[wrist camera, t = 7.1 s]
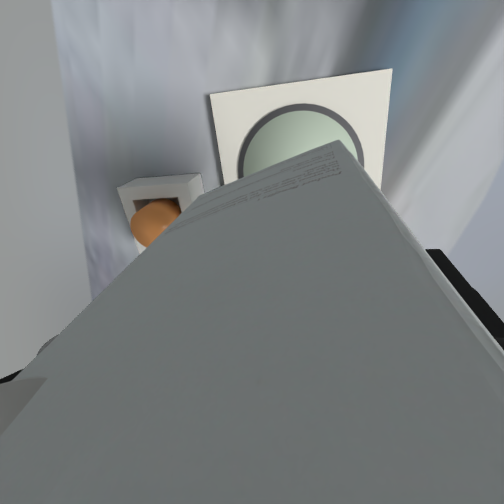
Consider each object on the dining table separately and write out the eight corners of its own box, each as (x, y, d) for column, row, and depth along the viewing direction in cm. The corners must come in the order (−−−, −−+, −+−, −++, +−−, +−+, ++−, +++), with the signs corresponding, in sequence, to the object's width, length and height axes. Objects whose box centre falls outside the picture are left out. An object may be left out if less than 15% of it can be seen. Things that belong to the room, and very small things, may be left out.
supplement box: (253, 305, 17) (157, 678, 6) (196, 192, 14) (-173, 526, 3) (383, 276, 15) (597, 806, 4) (347, 132, 12) (820, 657, 1)
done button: (141, 199, 28) (124, 210, 25) (179, 196, 27) (166, 208, 24) (153, 236, 29) (138, 250, 27) (189, 235, 29) (177, 249, 26)
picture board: (212, 94, 24) (208, 94, 23) (389, 69, 21) (393, 68, 20) (236, 240, 31) (233, 245, 30) (373, 237, 28) (375, 241, 27)
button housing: (136, 178, 29) (116, 188, 26) (200, 173, 28) (187, 183, 25) (155, 239, 33) (139, 254, 30) (213, 237, 31) (203, 252, 28)
